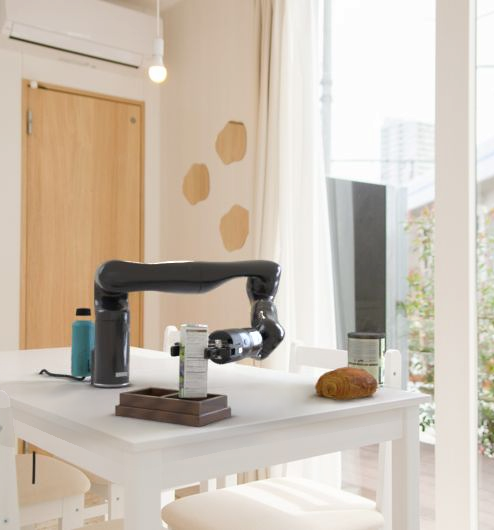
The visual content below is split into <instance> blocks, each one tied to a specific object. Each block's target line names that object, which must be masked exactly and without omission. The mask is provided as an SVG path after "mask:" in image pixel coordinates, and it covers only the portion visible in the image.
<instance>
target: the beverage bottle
mask: <svg viewBox="0 0 494 530" xmlns="http://www.w3.org/2000/svg"><path fill="white" fill-rule="evenodd" d="M75 310H76V311H75V316H77V317H91V316H92V310H91V308H89V307H79V308H76V309H75ZM94 341H95V322H93V320H90V319H76V320H74V321H73V322H72V324H71V347H70V354H71V355H70V375H72V376H75V377H78V378H81V377H86V378H87V377H91V373H90V372H88V369H90V364H91V350H92V349H93V348H94Z"/></svg>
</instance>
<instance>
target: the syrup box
mask: <svg viewBox="0 0 494 530" xmlns="http://www.w3.org/2000/svg"><path fill="white" fill-rule="evenodd" d="M179 336H180V337H179V342H180V356H178V357H179V358H178V359H179V365H178V367H179V369H178V379H179V380H178V390H179V397H180V398H199V397H207V393H208V370H209V359H204V349H205V348H208V336H209V325H207V324H201V323H188V324H187V323H186V324H185V323H184V324H181V325H180V335H179Z"/></svg>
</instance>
